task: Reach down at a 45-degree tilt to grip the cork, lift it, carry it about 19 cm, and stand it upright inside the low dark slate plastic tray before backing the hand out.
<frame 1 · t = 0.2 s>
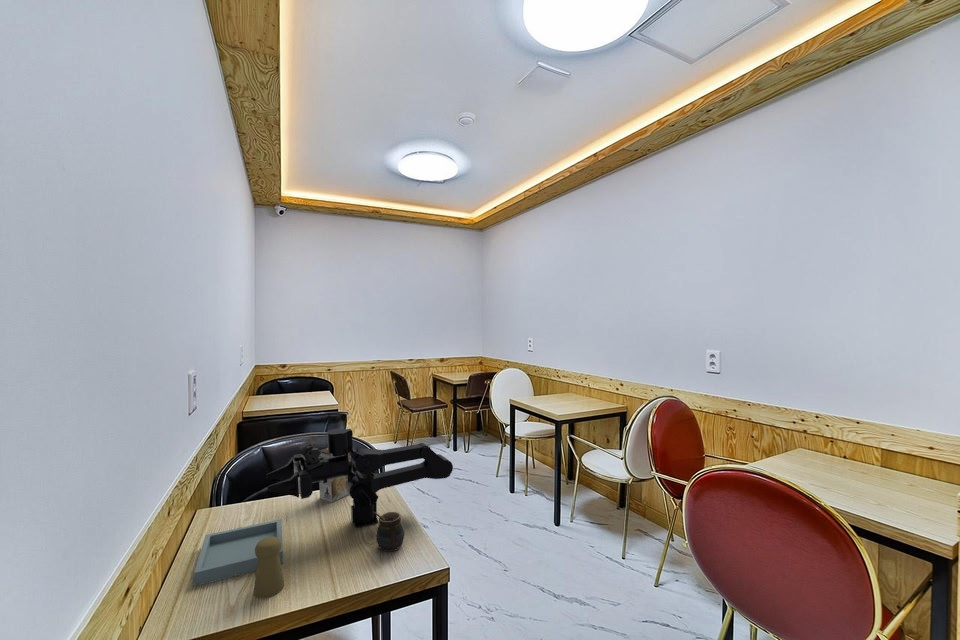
hand: (266, 482, 109), 17 cm above the table, tool horizontal, fingers open, 9 cm apart
slate tray: (242, 554, 105), on the table
coffee box: (336, 496, 139), on the table
cork: (269, 590, 92), on the table
mate gourd: (389, 547, 108), on the table
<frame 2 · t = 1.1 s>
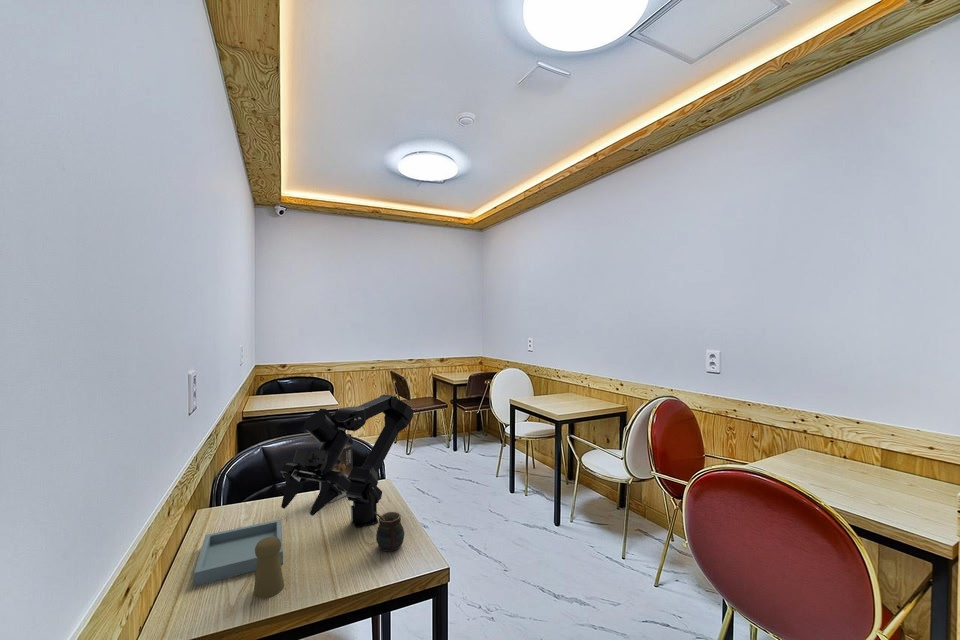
hand: (296, 511, 99), 14 cm above the table, tool tilted 45°, fingers open, 9 cm apart
nothing on the table moved.
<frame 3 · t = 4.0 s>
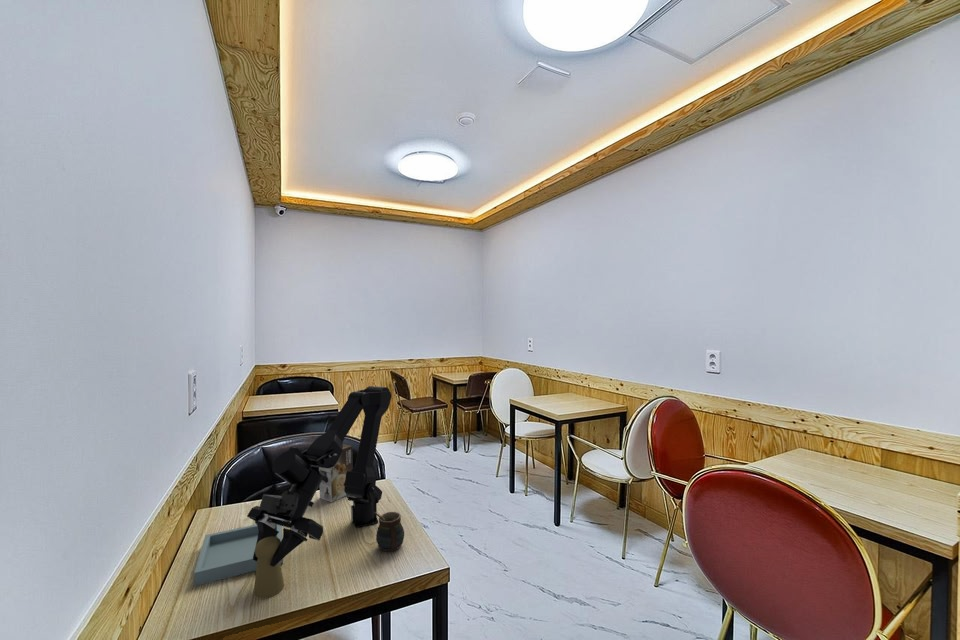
hand: (262, 563, 90), 7 cm above the table, tool tilted 45°, fingers closed on cork, 5 cm apart
cork: (269, 590, 92), on the table, touching gripper
everything else where it was.
when the fingers open (8 cm above the table, at t = 8.8 s): cork stays where it is, resting on slate tray.
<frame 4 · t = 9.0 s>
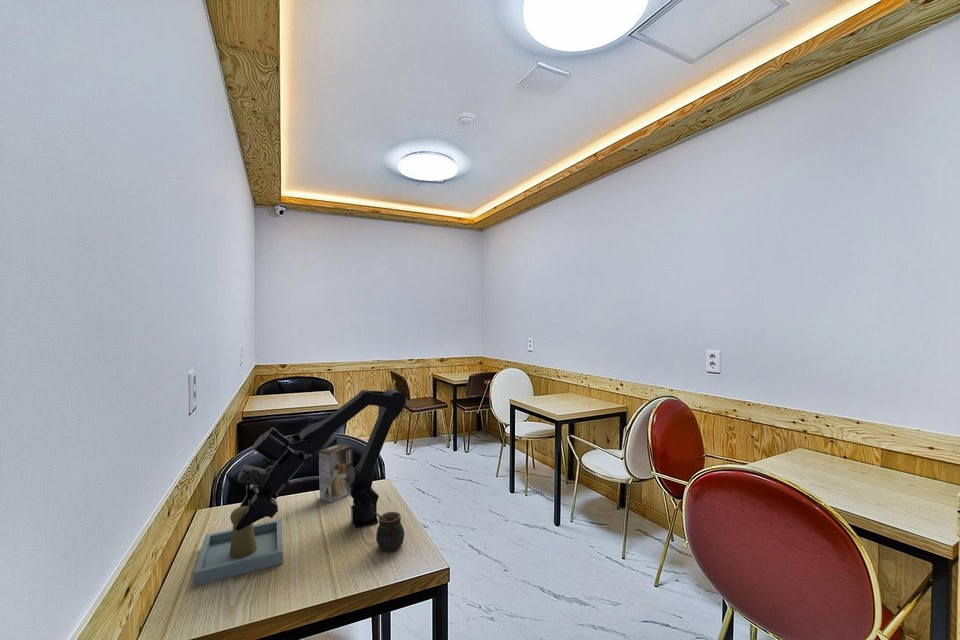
hand: (236, 523, 104), 8 cm above the table, tool tilted 45°, fingers open, 7 cm apart
cork: (243, 552, 105), point 1 cm above the table, touching slate tray
everything else where it was.
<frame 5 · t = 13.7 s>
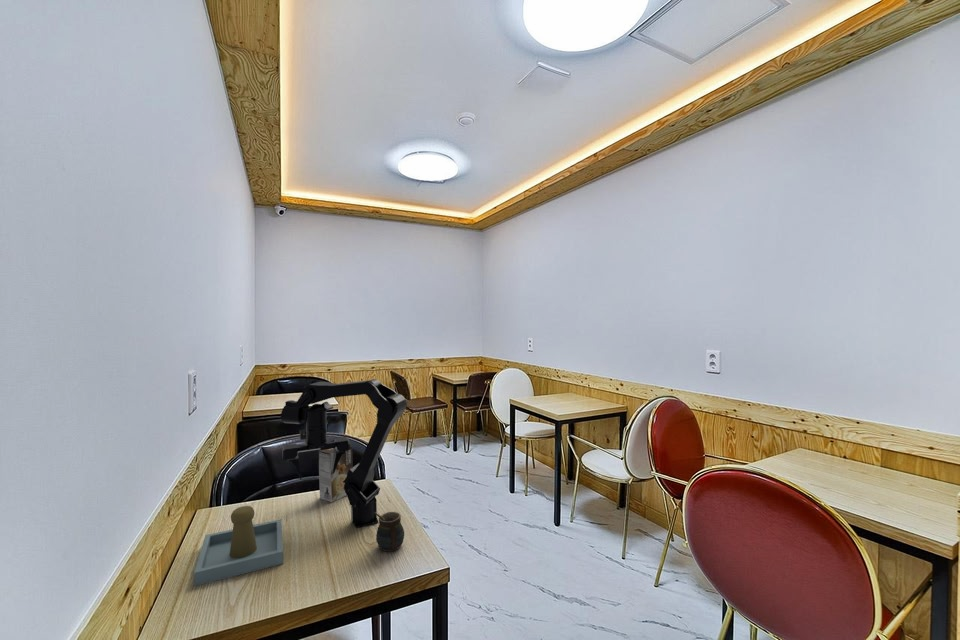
hand: (317, 476, 125), 12 cm above the table, tool pointing down, fingers open, 9 cm apart
nothing on the table moved.
at the end: cork inside the target area on the slate tray (0.1 cm from its centre), point 0.6 cm above the slate tray's base; cork tilted 0°; the gripper is holding nothing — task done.
